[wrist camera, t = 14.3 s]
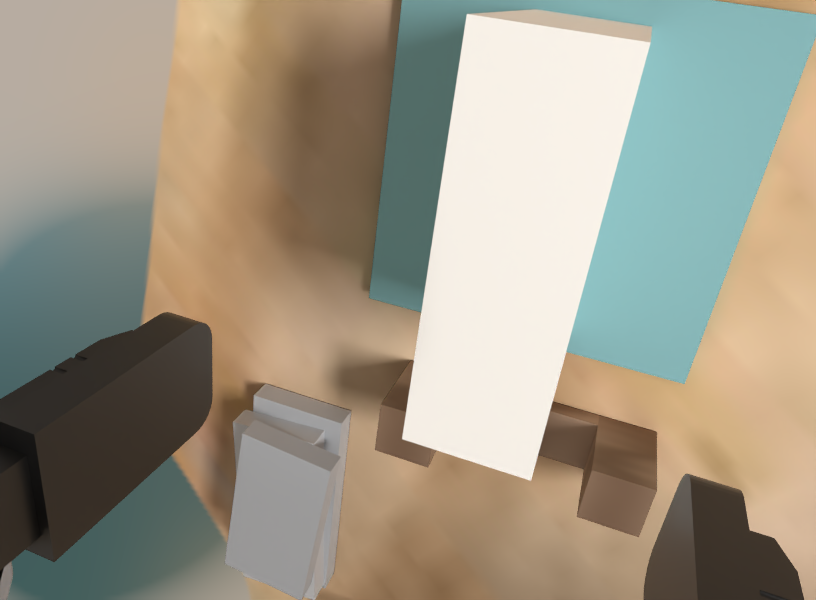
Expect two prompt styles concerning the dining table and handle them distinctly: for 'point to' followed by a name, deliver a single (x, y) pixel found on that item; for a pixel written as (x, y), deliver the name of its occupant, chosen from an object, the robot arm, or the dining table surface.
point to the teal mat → (636, 170)
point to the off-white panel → (517, 226)
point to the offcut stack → (288, 491)
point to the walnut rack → (563, 457)
